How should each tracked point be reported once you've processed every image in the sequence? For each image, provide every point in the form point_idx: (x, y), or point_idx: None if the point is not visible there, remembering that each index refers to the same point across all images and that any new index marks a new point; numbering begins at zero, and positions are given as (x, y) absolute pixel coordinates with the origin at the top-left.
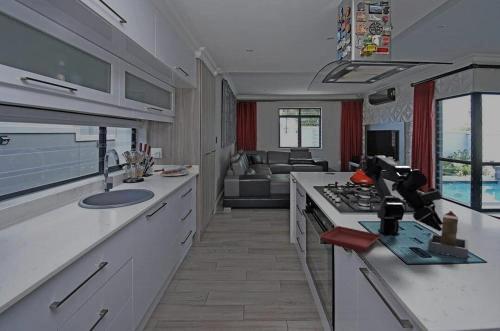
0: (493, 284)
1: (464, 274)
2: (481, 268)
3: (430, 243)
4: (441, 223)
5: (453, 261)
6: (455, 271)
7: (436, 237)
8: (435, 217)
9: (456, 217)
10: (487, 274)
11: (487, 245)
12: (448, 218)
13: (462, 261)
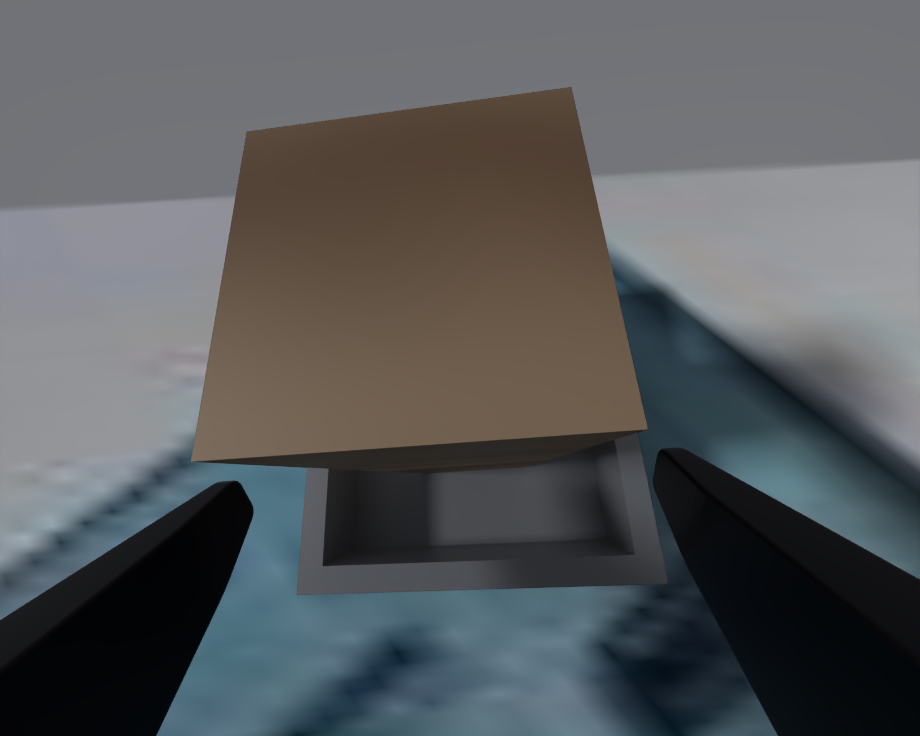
0: (897, 167)
1: (902, 285)
2: (684, 225)
3: (658, 556)
4: (233, 500)
5: (705, 361)
6: (907, 331)
7: (335, 526)
8: (99, 670)
9: (357, 138)
10: (761, 197)
11: (191, 231)
12: (605, 281)
13: (649, 316)
